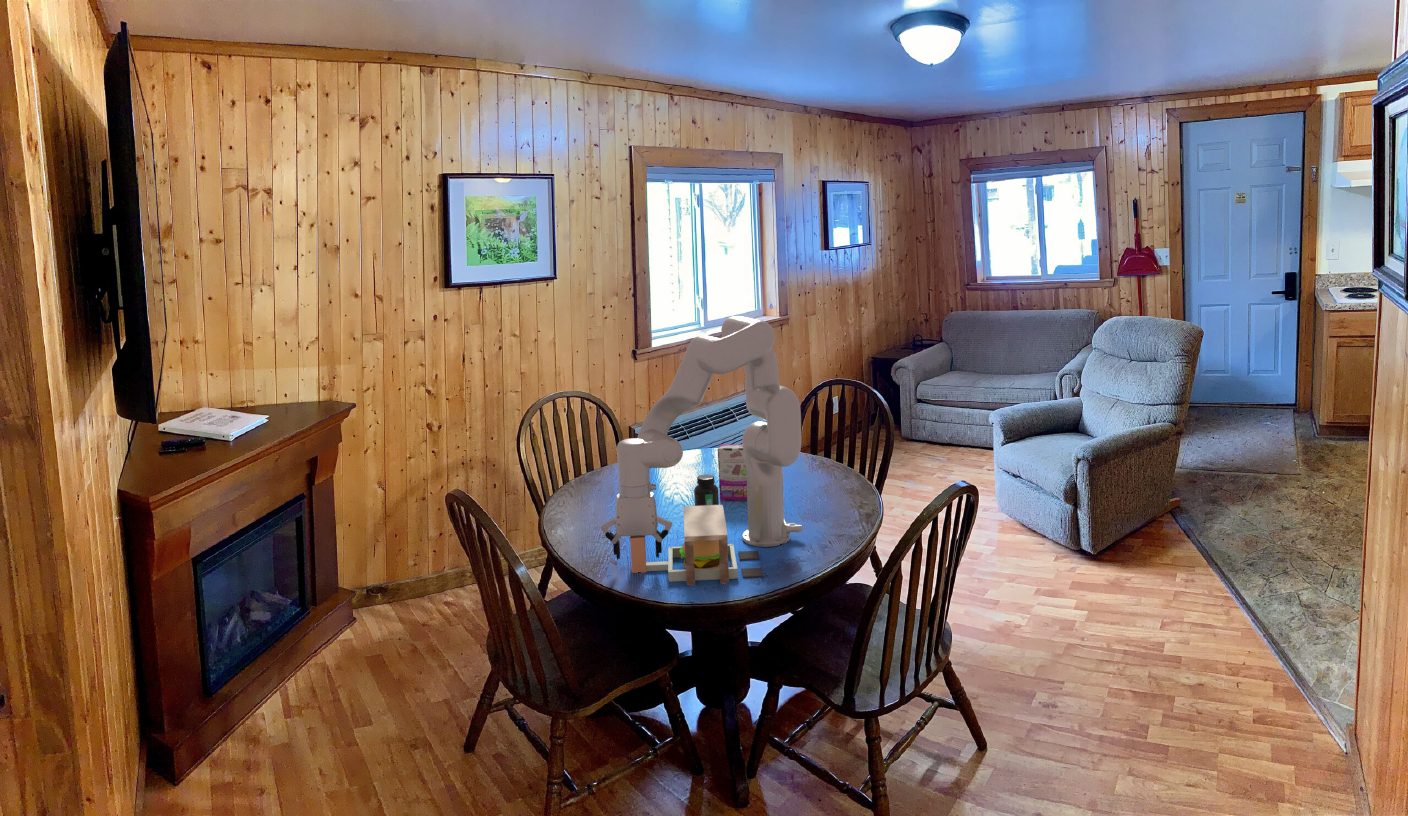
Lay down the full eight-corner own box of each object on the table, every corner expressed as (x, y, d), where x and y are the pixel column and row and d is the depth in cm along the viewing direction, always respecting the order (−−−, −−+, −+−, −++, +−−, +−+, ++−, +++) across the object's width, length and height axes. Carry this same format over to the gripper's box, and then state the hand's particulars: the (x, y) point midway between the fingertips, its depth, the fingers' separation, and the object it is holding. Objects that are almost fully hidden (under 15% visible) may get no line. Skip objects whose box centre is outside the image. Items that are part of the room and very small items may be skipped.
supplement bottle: (715, 522, 263) (713, 481, 260) (691, 520, 265) (690, 479, 262) (722, 514, 269) (720, 474, 266) (699, 512, 271) (698, 472, 268)
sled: (733, 553, 240) (732, 519, 238) (737, 578, 224) (736, 542, 222) (633, 557, 239) (631, 524, 237) (630, 583, 223) (628, 547, 221)
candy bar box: (758, 496, 283) (756, 443, 279) (756, 501, 278) (755, 448, 275) (721, 495, 285) (719, 443, 281) (719, 501, 280) (717, 448, 276)
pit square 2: (761, 568, 229) (761, 567, 229) (763, 577, 224) (763, 575, 224) (741, 569, 229) (741, 568, 229) (742, 578, 224) (742, 576, 224)
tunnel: (724, 549, 242) (722, 504, 239) (729, 583, 221) (727, 534, 219) (685, 551, 242) (683, 506, 239) (686, 585, 221) (684, 536, 218)
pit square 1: (758, 552, 240) (758, 550, 240) (759, 559, 235) (759, 558, 235) (738, 552, 240) (738, 551, 240) (739, 560, 235) (739, 559, 235)
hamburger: (670, 566, 233) (669, 533, 231) (709, 554, 240) (708, 522, 238) (698, 581, 224) (696, 547, 222) (738, 568, 230) (737, 535, 228)
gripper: (670, 483, 230) (673, 549, 234) (600, 486, 230) (603, 552, 234) (670, 493, 223) (673, 560, 227) (597, 496, 223) (601, 563, 227)
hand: (638, 556), depth 230 cm, fingers open, 9 cm apart
